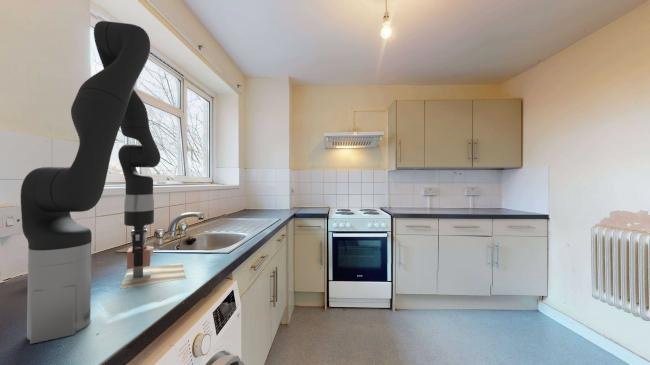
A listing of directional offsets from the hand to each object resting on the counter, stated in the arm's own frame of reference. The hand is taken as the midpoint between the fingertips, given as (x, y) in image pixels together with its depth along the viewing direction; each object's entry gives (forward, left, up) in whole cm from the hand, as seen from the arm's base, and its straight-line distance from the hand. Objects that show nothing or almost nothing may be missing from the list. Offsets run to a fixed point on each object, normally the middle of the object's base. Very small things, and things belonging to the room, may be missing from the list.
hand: (139, 263), depth 82 cm
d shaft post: (0, 0, -5) cm, 5 cm away
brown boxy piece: (0, 0, 0) cm, 0 cm away
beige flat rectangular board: (0, -4, -5) cm, 7 cm away
